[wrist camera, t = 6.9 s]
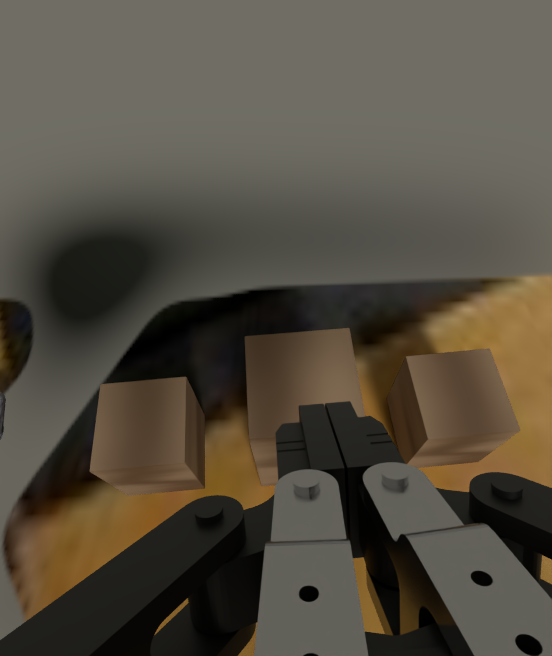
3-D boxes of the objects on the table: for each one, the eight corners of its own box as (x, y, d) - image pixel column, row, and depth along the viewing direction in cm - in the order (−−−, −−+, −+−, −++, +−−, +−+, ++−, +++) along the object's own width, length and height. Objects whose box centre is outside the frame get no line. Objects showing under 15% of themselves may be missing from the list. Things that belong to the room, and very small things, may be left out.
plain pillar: (334, 400, 32) (349, 328, 24) (346, 479, 29) (367, 429, 21) (257, 406, 32) (244, 336, 24) (261, 486, 29) (248, 439, 21)
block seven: (204, 411, 32) (186, 372, 27) (204, 488, 30) (184, 462, 24) (134, 418, 32) (101, 380, 27) (128, 495, 29) (89, 471, 24)
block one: (454, 388, 33) (488, 344, 27) (478, 461, 30) (520, 430, 24) (385, 394, 32) (404, 352, 27) (402, 469, 30) (428, 439, 24)
